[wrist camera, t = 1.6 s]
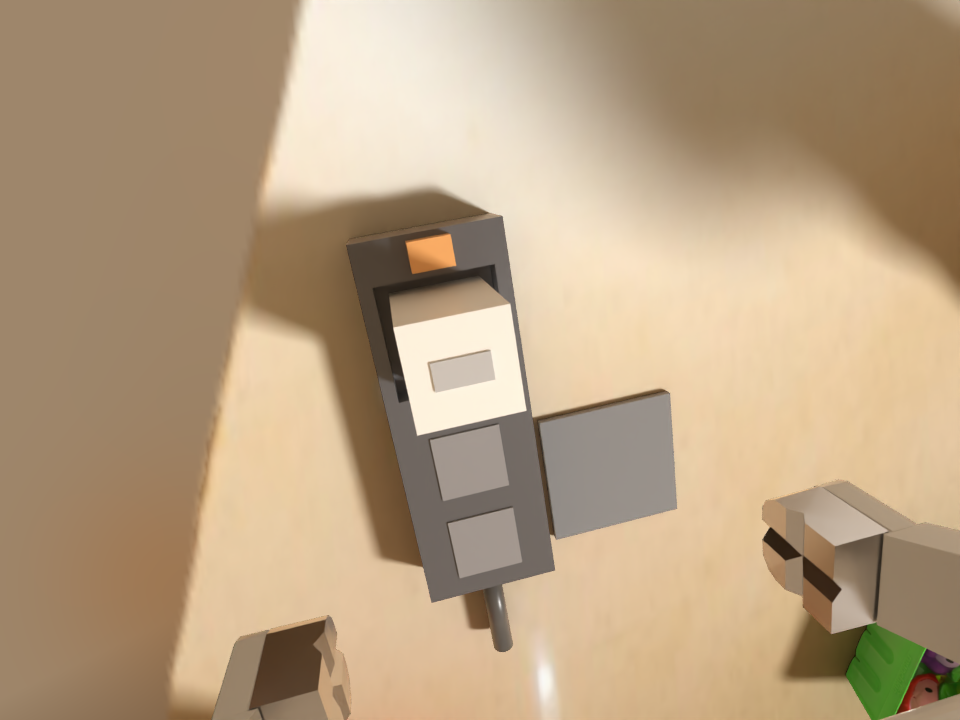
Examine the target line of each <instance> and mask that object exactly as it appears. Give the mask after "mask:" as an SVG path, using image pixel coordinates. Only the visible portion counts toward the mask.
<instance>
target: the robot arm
mask: <svg viewBox="0 0 960 720" xmlns="http://www.w3.org/2000/svg"><path fill="white" fill-rule="evenodd" d="M762 520H763V521H764V522H765V523H766V524H767V525H768V526H769V527H770V528H769V529H768V531H767V533H766V534H765V536H764V538H763V539H762V543H763V556H764V558H765V561H766V564H767V566H768V569H769V571H770V572H771V574H772V575H773V577H774V578H775V580H776V581H777V582H778V583H779V584H780V585H781V586H782V587H783V588H784V589H785V590H787V591H790V592H793V593H795V594H798V595H800V596H802V602H803V607H804V608H805V609H806V610H807V611H808V612H809V613H810V614H811V615H812V616H813V617H814V618H815V619H816V620H817V621H818V622H819V623H820V624H821V625H822V626H823V627H824V628H825V629H826V630H827V631H828V632H829V633H830V634H834V633H838V632H841V631H845V630H849V629H853V628H857V627H860V626H864V625H868V624H872V623H875V622H877V625H878V626H880V627H882V628H885V629H887V630H889V631H891V632H893V633H895V634H897V635H899V636H901V637H903V638H906V639H908V640H910V641H912V642H914V643H916V644H918V645H920V646H922V647H925V648H927V649H929V650H931V651H933V652H935V653H937V654H939V655H941V656H943V657H946V658H948V659H950V660H952V661H954V662H956V663H958V664H960V531H959V530H955V529H951V528H947V527H942V526H938V525H934V524H930V523H926V522H925V523H921V524H916V523H915V522H913V521H911V520H910V519H908V518H907V517H905V516H903V515H902V514H900V513H898V512H897V511H895V510H894V509H892V508H890V507H889V506H887V505H885V504H884V503H882V502H881V501H879V500H877V499H876V498H874V497H872V496H871V495H869V494H868V493H866V492H864V491H863V490H861V489H859V488H858V487H856V486H855V485H853V484H851V483H850V482H848V481H844V480H839V479H838V480H835V481H831V482H828V483H824V484H821V485H817V486H814V487H813V488H809V489H806V490H802V491H798V492H794V493H791V494H787V495H783V496H780V497H776V498H772V499H768V500H766V501H765V503H764V505H763V508H762ZM336 640H337V632H336V629H335V626H334V623H333V620H332V618H331V617H330V616H329V615H326V616H322V617H318V618H314V619H309V620H305V621H301V622H297V623H293V624H288V625H284V626H280V627H276V628H272V629H270V630H265V631H261V632H257V633H253V634H249V635H245V636H241V637H240V638H239V639H238V640H237V641H236V642H235V644H234V647H233V650H232V653H231V656H230V660H229V663H228V666H227V670H226V673H225V676H224V680H223V683H222V686H221V689H220V693H219V696H218V699H217V703H216V706H215V709H214V713H213V716H212V719H211V720H347V718H348V717H349V715H350V714H351V691H350V679H349V674H348V669H347V664H346V661H345V658H344V654H343V653H342V652H340V651H339V650H337V649H336ZM880 720H960V694H958V695H955V696H951V697H948V698H945V699H942V700H939V701H936V702H933V703H930V704H927V705H924V706H920V707H917V708H914V709H911V710H908V711H905V712H902V713H899V714H896V715H893V716H889V717H886V718H883V719H880Z"/></svg>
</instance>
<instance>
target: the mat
mask: <svg viewBox="0 0 960 720" xmlns="http://www.w3.org/2000/svg"><path fill="white" fill-rule="evenodd" d="M538 426H539V433H540V440H541V447H542V454H543V460H544V467H545V474H546V481H547V488H548V495H549V502H550V509H551V515H552V522H553V529H554V536H555V538H556V540H557V539H561V538H565V537H569V536H573V535H577V534H581V533H584V532H588V531H592V530H596V529H600V528H604V527H608V526H612V525H616V524H619V523H623V522H627V521H631V520H635V519H639V518H643V517H647V516H651V515H654V514H658V513H662V512H666V511H670V510H674V509H677V500H676V484H675V467H674V451H673V435H672V419H671V403H670V393H669V392H668V391H664V392H660V393H655V394H651V395H647V396H642V397H638V398H634V399H629V400H625V401H621V402H616V403H612V404H608V405H603V406H599V407H595V408H590V409H586V410H582V411H577V412H573V413H569V414H564V415H560V416H556V417H551V418H547V419H543V420H538Z"/></svg>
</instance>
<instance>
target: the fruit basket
mask: <svg viewBox="0 0 960 720" xmlns="http://www.w3.org/2000/svg"><path fill="white" fill-rule="evenodd" d="M846 677H847V679H848V680H849V682H850V684H851V685H852V687H853V689H854V691H855V692H856V694H857V696H858V698H859V699H860V701H861V703H862V704H863V706H864V708H865V710H866V711H867V713H868V715H869V716H870V718H871V720H880V719H883V718H886V717H889V716H893V715H896V714H899V713H902V712H905V711H908V710H911V709H914V708H917V707H920V706H924V705H927V704H930V703H933V702H936V701H939V700H942V699H945V698H948V697H951V696H955V695H958V694H960V664H958V663H956V662H954V661H952V660H950V659H948V658H946V657H943V656H941V655H939V654H937V653H935V652H933V651H931V650H929V649H927V648H925V647H922V646H920V645H918V644H916V643H914V642H912V641H910V640H908V639H906V638H903V637H901V636H899V635H897V634H895V633H893V632H891V631H889V630H887V629H885V628H882V627H880V626H878V625H877V622H875V623H872V624H868V625H867V630H865V631H864V633H863V634H862V636H861V639H860V641H859V643H858V646H857V649H856V656H855V657H854V658H853V660H852V661H851V663H850V665H849V668H848V670H847V673H846Z"/></svg>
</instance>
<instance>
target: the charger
mask: <svg viewBox="0 0 960 720" xmlns="http://www.w3.org/2000/svg"><path fill="white" fill-rule="evenodd" d="M389 299H390V307H391V314H392V322H393V329H394V333H395V338H396V342H397V347H398V351H399V356H400V360H401V365H402V369H403V374H404V378H405V383H406V387H407V392H408V396H409V401H410V405H411V410H412V414H413V419H414V423H415V428H416V432H417V436H418V435H422V434H427V433H431V432H436V431H440V430H444V429H449V428H453V427H457V426H462V425H466V424H471V423H475V422H479V421H484V420H488V419H493V418H497V417H501V416H506V415H510V414H514V413H519V412H523V411H526V404H525V398H524V391H523V385H522V378H521V371H520V365H519V358H518V352H517V345H516V338H515V332H514V325H513V319H512V312H511V305H510V303H509V302H508V301H507V300H506V299H504V298H503V297H502V296H501V295H500V294H499V293H498V292H496V291H495V290H494V289H493V288H492V287H491V286H490V285H489V284H487V283H486V282H485V281H484V280H483V279H482V278H481V277H479V276H474V277H469V278H464V279H459V280H454V281H449V282H444V283H439V284H434V285H429V286H424V287H419V288H414V289H409V290H404V291H399V292H394V293H389Z"/></svg>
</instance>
